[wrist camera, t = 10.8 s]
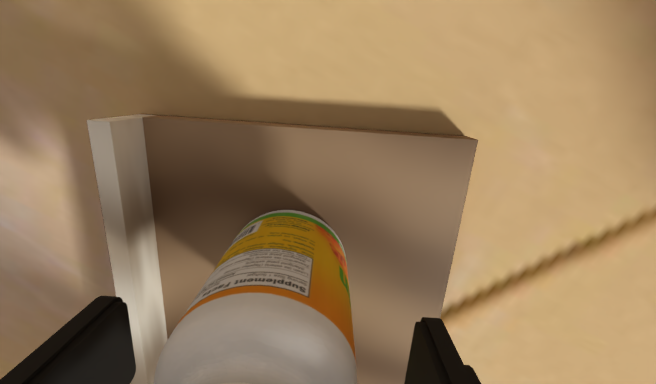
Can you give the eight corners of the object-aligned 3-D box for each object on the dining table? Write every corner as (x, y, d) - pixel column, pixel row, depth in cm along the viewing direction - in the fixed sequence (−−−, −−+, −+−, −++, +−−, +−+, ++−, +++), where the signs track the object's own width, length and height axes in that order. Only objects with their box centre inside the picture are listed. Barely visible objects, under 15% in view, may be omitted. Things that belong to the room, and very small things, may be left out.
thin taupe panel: (395, 484, 22) (407, 549, 18) (176, 473, 21) (151, 536, 18) (466, 136, 14) (503, 148, 11) (132, 113, 14) (77, 119, 11)
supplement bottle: (341, 310, 16) (356, 626, 6) (234, 303, 16) (91, 611, 6) (351, 210, 14) (391, 436, 5) (231, 202, 14) (35, 414, 5)
